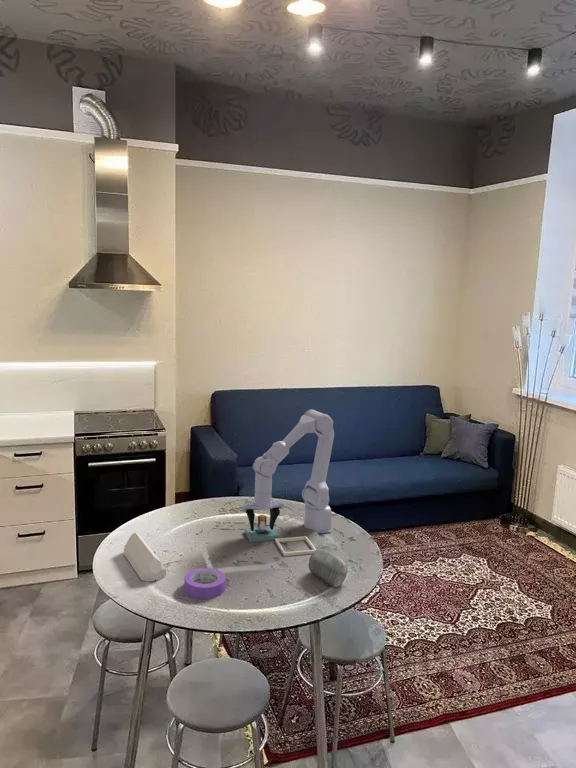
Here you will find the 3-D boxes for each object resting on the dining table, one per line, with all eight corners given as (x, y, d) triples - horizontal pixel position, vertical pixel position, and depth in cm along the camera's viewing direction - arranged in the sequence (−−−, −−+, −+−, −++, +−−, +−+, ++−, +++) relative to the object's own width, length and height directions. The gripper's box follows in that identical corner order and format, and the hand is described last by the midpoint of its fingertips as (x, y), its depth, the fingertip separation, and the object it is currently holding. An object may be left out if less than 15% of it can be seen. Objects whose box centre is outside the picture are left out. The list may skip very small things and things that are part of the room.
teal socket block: (272, 534, 208) (272, 526, 208) (278, 543, 201) (278, 535, 200) (244, 536, 206) (245, 528, 205) (249, 545, 198) (250, 537, 198)
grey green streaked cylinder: (297, 562, 180) (315, 536, 179) (317, 569, 186) (335, 544, 185) (319, 593, 169) (338, 565, 168) (340, 598, 175) (359, 572, 174)
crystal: (115, 542, 188) (137, 574, 168) (135, 528, 191) (159, 558, 170) (127, 558, 191) (150, 592, 171) (146, 544, 194) (171, 576, 173)
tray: (306, 542, 202) (306, 536, 202) (316, 557, 192) (317, 550, 191) (274, 545, 199) (275, 538, 199) (283, 560, 189) (284, 553, 188)
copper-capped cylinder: (264, 533, 205) (265, 514, 204) (266, 537, 202) (267, 518, 201) (256, 534, 204) (257, 515, 203) (258, 537, 201) (259, 518, 200)
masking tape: (230, 582, 173) (230, 570, 173) (217, 602, 162) (217, 589, 162) (193, 576, 176) (193, 565, 175) (177, 596, 165) (177, 583, 164)
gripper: (244, 497, 195) (243, 535, 197) (286, 494, 199) (285, 532, 201) (240, 489, 201) (239, 527, 203) (281, 487, 205) (279, 524, 208)
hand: (261, 529), depth 203 cm, fingers open, 6 cm apart
